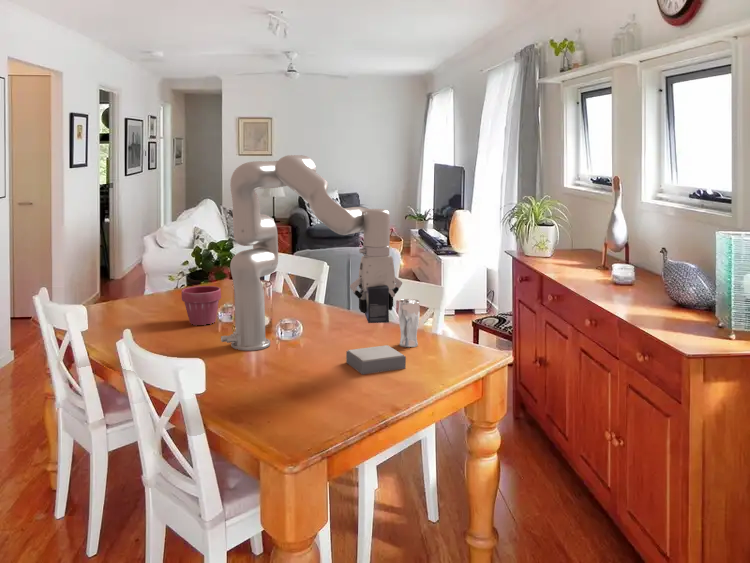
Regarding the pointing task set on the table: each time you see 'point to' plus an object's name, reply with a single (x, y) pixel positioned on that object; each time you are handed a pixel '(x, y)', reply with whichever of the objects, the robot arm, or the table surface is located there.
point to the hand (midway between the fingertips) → (376, 310)
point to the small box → (377, 304)
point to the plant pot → (201, 303)
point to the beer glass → (409, 322)
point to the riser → (375, 359)
